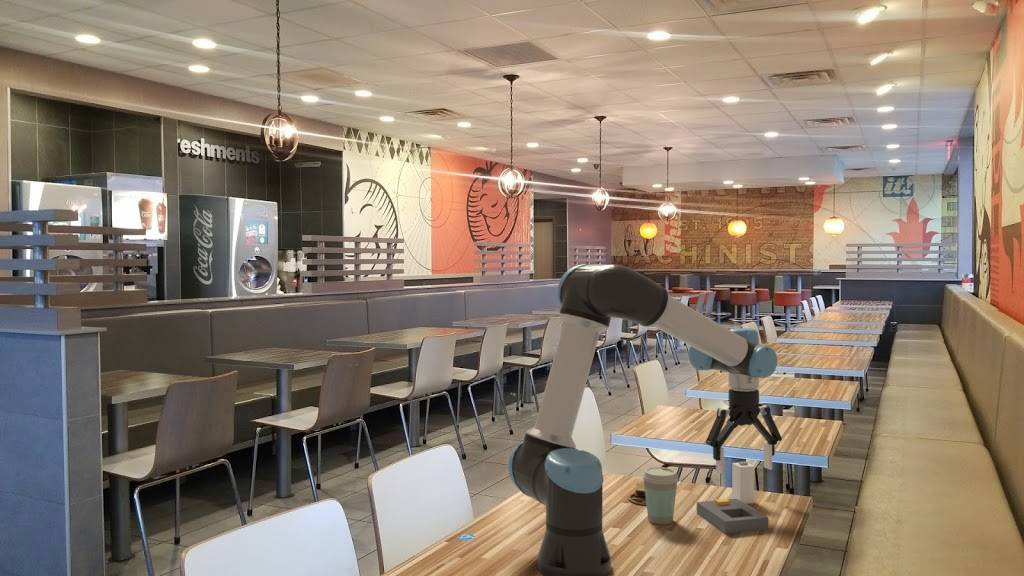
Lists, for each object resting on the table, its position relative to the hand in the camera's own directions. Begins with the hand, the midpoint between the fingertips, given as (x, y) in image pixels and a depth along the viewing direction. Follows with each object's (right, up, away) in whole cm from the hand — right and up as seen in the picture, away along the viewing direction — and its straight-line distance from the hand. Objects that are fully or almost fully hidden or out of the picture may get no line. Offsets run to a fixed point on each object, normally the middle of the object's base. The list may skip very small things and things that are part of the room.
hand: (744, 470), depth 191 cm
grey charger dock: (-7, -9, -14) cm, 18 cm away
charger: (0, -8, 0) cm, 8 cm away
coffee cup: (-24, -9, -12) cm, 29 cm away
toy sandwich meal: (-25, -9, +3) cm, 26 cm away
